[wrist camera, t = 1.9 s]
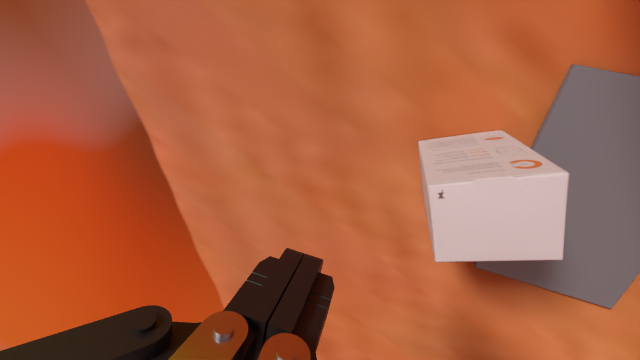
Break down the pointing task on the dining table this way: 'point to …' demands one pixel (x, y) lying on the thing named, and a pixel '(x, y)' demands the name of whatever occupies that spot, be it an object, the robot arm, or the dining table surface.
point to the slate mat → (591, 187)
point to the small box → (492, 199)
